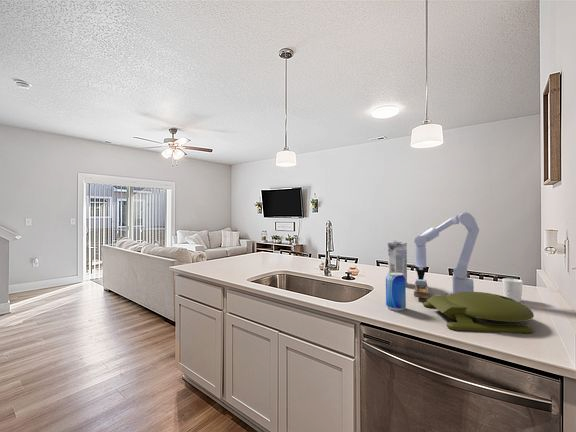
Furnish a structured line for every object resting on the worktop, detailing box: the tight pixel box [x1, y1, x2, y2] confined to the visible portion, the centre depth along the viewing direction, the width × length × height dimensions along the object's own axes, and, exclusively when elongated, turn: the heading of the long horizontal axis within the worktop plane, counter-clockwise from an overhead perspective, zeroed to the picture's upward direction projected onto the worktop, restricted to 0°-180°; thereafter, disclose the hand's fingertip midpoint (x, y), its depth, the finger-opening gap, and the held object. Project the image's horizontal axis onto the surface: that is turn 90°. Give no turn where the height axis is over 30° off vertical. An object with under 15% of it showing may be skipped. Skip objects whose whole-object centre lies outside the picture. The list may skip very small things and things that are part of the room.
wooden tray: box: [413, 281, 430, 299], centre depth 147 cm, size 7×21×5 cm, turn 155°
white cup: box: [501, 277, 523, 303], centre depth 139 cm, size 8×8×10 cm
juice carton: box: [387, 240, 408, 284], centre depth 174 cm, size 9×10×27 cm
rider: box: [415, 278, 428, 288], centre depth 152 cm, size 5×4×4 cm
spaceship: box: [422, 291, 535, 335], centre depth 115 cm, size 35×31×10 cm
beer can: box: [385, 272, 407, 312], centre depth 128 cm, size 8×8×16 cm
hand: (420, 280), depth 159 cm, fingers closed
